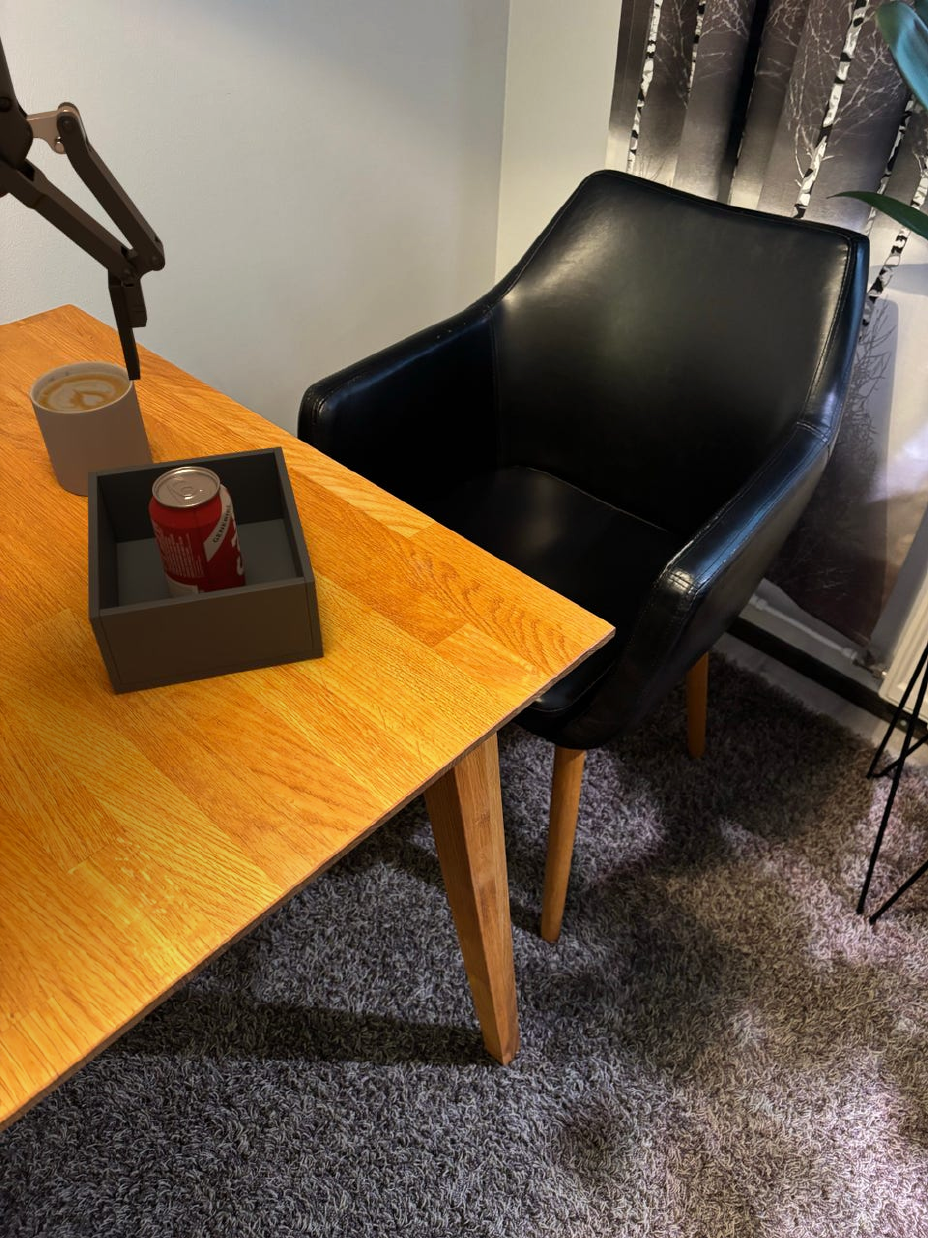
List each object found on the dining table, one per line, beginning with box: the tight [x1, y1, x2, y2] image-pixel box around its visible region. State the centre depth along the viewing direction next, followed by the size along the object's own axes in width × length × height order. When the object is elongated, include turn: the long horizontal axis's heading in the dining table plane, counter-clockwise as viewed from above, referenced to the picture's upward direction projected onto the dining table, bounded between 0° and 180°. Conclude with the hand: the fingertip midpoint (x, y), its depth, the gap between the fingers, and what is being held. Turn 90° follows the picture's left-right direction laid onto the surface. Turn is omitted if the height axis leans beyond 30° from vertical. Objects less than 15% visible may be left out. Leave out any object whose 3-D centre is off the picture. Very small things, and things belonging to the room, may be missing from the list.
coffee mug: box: [28, 360, 154, 497], centre depth 101 cm, size 13×10×10 cm
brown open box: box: [87, 445, 324, 695], centre depth 86 cm, size 18×20×9 cm
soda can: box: [149, 467, 246, 598], centre depth 84 cm, size 7×7×12 cm
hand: (28, 381), depth 64 cm, fingers open, 13 cm apart
